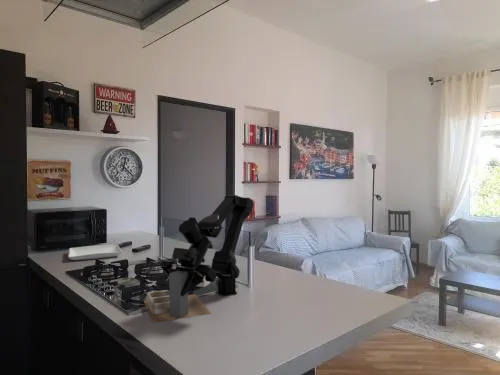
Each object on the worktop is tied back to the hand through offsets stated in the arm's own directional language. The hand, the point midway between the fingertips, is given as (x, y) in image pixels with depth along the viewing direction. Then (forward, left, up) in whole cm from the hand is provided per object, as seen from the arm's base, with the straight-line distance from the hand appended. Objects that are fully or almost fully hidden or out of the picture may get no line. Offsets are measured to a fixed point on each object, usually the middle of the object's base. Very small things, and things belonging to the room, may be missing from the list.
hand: (175, 294), depth 112 cm
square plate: (+23, -117, -8) cm, 119 cm away
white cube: (-17, -34, -8) cm, 38 cm away
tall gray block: (-1, -1, -7) cm, 7 cm away
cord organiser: (-2, -8, -8) cm, 11 cm away
